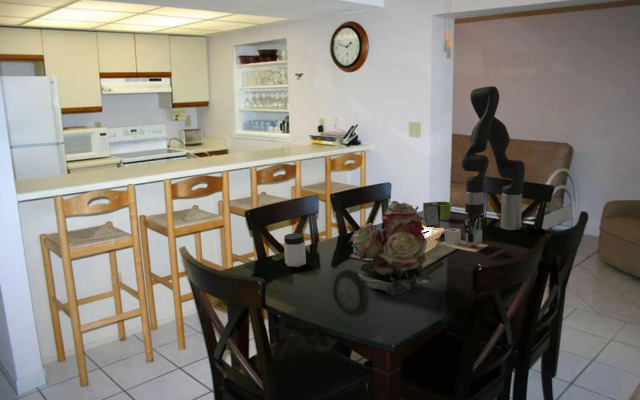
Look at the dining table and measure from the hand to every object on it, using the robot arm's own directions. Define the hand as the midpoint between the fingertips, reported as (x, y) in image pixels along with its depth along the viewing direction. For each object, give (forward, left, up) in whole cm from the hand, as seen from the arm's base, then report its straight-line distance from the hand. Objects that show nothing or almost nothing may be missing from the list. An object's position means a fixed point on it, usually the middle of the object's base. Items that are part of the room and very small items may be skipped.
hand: (473, 240), depth 224 cm
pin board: (0, -5, -4) cm, 6 cm away
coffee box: (-5, -24, -4) cm, 25 cm away
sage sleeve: (0, 0, -1) cm, 1 cm away
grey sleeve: (0, -10, -3) cm, 10 cm away
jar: (+59, -49, -4) cm, 77 cm away
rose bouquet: (+50, -5, -4) cm, 51 cm away
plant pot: (-37, -37, -4) cm, 53 cm away
